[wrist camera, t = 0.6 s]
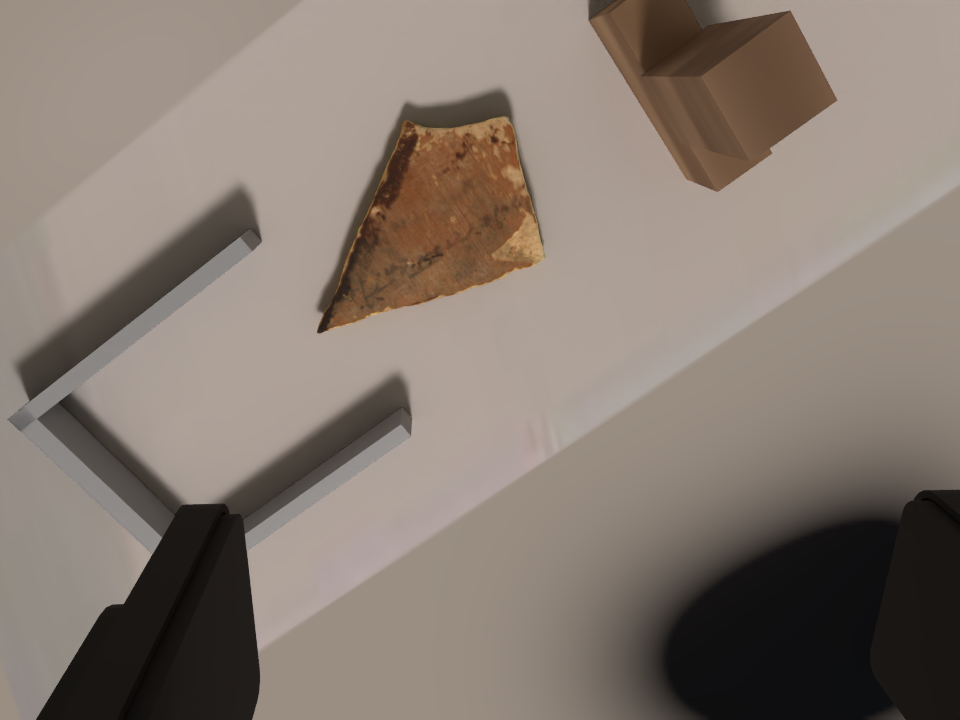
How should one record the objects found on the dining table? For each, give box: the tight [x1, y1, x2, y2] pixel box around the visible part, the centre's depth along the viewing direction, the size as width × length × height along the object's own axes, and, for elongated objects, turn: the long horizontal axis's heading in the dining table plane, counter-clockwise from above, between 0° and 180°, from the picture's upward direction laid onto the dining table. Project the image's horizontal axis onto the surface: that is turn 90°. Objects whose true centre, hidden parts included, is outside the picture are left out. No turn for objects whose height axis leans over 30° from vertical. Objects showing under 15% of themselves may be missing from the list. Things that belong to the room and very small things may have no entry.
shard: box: [317, 116, 545, 333], centre depth 34 cm, size 11×8×2 cm
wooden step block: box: [589, 0, 837, 192], centre depth 28 cm, size 3×8×11 cm, turn 36°
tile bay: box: [8, 228, 412, 554], centre depth 36 cm, size 14×12×2 cm
